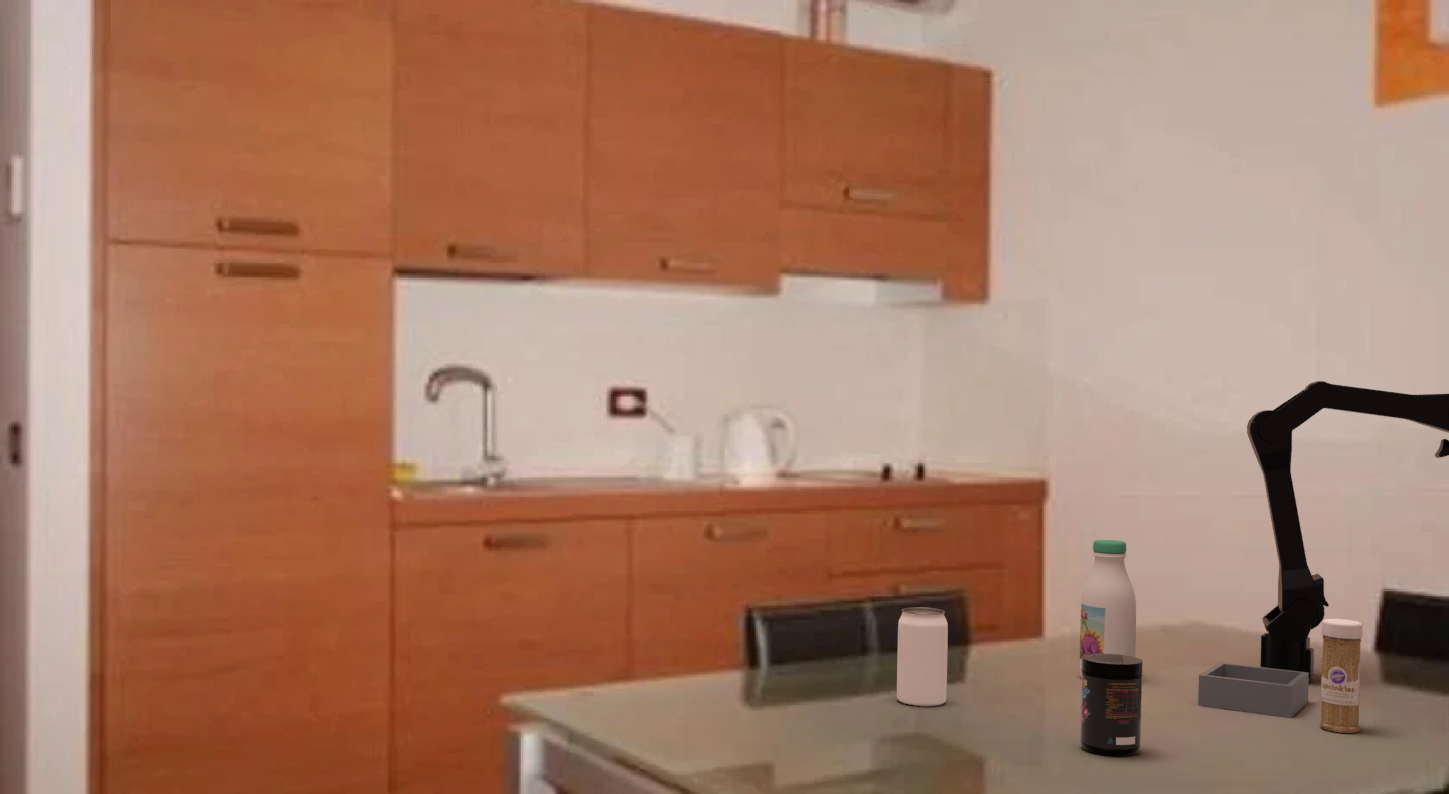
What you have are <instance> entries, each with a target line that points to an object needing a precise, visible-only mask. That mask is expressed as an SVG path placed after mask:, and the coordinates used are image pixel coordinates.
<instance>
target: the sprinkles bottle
mask: <svg viewBox="0 0 1449 794" xmlns="http://www.w3.org/2000/svg"><path fill="white" fill-rule="evenodd" d="M1321 635H1322V636H1321V637H1322V640H1323V642H1322V661H1321V662H1322V664H1321V665H1322V666H1321V682H1320V683H1321V685H1320V700H1321V703H1320V704H1321V707H1320V708H1321V710H1320V713H1321V714H1320V723H1319V727H1321V729H1323V730H1325V731H1329V732H1333V733H1334V732H1335V733H1339V734H1340V733H1341V734H1353V733H1357V732H1359V731H1361V730H1360V723H1359V721H1360V704H1361V703H1360V702H1361V696H1360V695H1361V643H1362V638H1363V624H1362V622H1360V621H1356V620H1353V619H1345V618H1324V619H1323V620H1322V621H1321Z"/></svg>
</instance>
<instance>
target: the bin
mask: <svg viewBox="0 0 1449 794" xmlns="http://www.w3.org/2000/svg"><path fill="white" fill-rule="evenodd" d="M1309 682H1310V680H1309V673H1307V672H1299V671H1290V670H1281V669H1273V668H1264V667H1260V666H1255V665H1254V666H1253V665H1246V664H1236V663H1227V662H1220V661H1219V662H1217V663H1216V664H1215V665H1213V666H1211V667H1209V668H1208V669H1207V670H1205V671H1203V672H1202V673H1199V674H1198V699H1197V700H1198V701H1197V702H1198V703H1197V704H1198V706H1199V707H1208V708H1216V709H1223V710H1230V711H1238V712H1246V713H1251V714H1252V713H1253V714H1261V715H1268V716H1273V717H1274V716H1277V717H1284V718H1290V719H1292V718H1293V717H1294V716H1295V715H1297V713H1298V712H1299V711H1300V710H1302V709H1303V708H1304V707H1305V706H1306V705H1307V704H1308V703H1309Z"/></svg>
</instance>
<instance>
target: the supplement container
mask: <svg viewBox="0 0 1449 794" xmlns="http://www.w3.org/2000/svg"><path fill="white" fill-rule="evenodd" d="M1081 668H1082V669H1081V672H1082V678H1081V684H1080V685H1081V691H1080V693H1081V694H1080V738H1079V741H1080V745H1081V747H1082V749H1084V750H1085V751H1087V752H1089V753H1091V754H1095V755H1100V756H1105V757H1106V756H1108V757H1131V756H1134V755H1136V754H1137V753H1138V752H1139V751H1140V749H1141V744H1142V743H1141V740H1142V737H1141V735H1142V734H1141V733H1142V697H1143V696H1142V693H1143V691H1142V689H1143V688H1142V687H1143V660H1142V659H1141V658H1139V657H1136V656H1135V657H1132V656H1126V655H1118V654H1087V655H1083V656H1082V667H1081Z"/></svg>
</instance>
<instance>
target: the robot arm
mask: <svg viewBox="0 0 1449 794" xmlns="http://www.w3.org/2000/svg"><path fill="white" fill-rule="evenodd" d="M1323 409H1328V410H1335V411H1343V412H1351V413H1357V414H1365V415H1372V416H1381V417H1385V418H1386V417H1387V418H1393V419H1394V418H1395V419H1400V420H1406V421H1410V422H1413V423H1416V424H1418V425H1422V426H1426V427H1429V428H1431V429H1433V430H1439V431H1441V432H1444V433H1449V393H1431V394H1430V393H1428V394H1427V393H1425V394H1409V393H1403V392H1395V391H1386V390H1379V389H1371V388H1363V387H1358V386H1357V387H1356V386H1351V385H1350V386H1349V385H1340V384H1333V383H1330V382H1327V381H1324V380H1323V381H1322V380H1317V381H1313V382H1311V383H1309V384H1308V385H1306V386H1305V387H1304V389H1303V390H1301V391H1300V392H1298V393H1296V394H1294V396H1292V397H1290V398H1288V400H1286V401H1284V402H1283V403H1281V404H1279V406H1277V407H1276V408H1274V409H1272V410H1261V411H1258V412H1257V413H1255V414H1254V415H1252V416H1251V418H1250V419H1249V420H1248V422H1247V425H1246V434H1247V437H1248V439H1249V442H1250V445H1251V448H1252V450H1253V453H1254V455H1255V458H1256V460H1257V463H1258V466H1259V468H1260V470H1261V472H1262V476H1263V480H1264V487H1265V491H1266V492H1265V493H1266V498H1267V503H1268V509H1269V510H1268V511H1269V514H1270V520H1271V526H1272V532H1273V537H1274V544H1275V547H1276V554H1277V560H1278V578H1277V581H1278V582H1277V605H1276V606H1275V607H1273V608H1272V609H1271V610H1270V611H1269V612H1267V613H1266V614H1265V615H1264V616H1262V622H1263V625H1264V628H1265V630H1266V632H1265V633H1263V634H1262V635H1261V636H1260V666H1259V667H1264V668H1273V669H1281V670H1290V671H1299V672H1307V673H1309V681H1310V680H1311V679H1312V678H1313V677H1314V673H1315V671H1314V670H1315V669H1314V668H1315V667H1314V666H1315V664H1314V663H1315V649H1314V648H1313V647H1311V638H1310V637H1309V634H1310V632H1311V630H1313V629H1315V628H1317V627H1318V626H1319V625H1320V624H1322V621H1323V620H1324V619H1325V607H1329V606H1330V605H1329V603H1328V602H1327V600H1326V599H1327V598H1326V597H1325V581H1324V578H1323V576H1322V575H1320V574H1319V573H1315V574H1312V572H1311V570H1310V568H1309V565H1308V563H1307V562H1308V561H1307V556H1306V550H1305V545H1304V540H1303V535H1302V534H1303V533H1302V529H1301V528H1302V527H1301V523H1300V522H1301V521H1300V518H1299V512H1298V506H1297V505H1298V504H1297V500H1296V494H1295V489H1294V482H1293V478H1292V472H1291V468H1292V467H1291V466H1292V452H1293V451H1292V450H1293V445H1292V444H1293V431H1294V430H1296V429H1297V428H1298V427H1300V426H1301V425H1303V424H1304V423H1305V422H1307V421H1308V420H1310V419H1311V418H1312V417H1313V416H1315V415H1316V414H1318V413H1319V412H1320V411H1322V410H1323ZM1448 456H1449V440H1448V439H1447V438H1443V439H1441V440H1440V444H1439V447H1438V448H1437V451H1436V452H1435V453H1434V457H1435V458H1436V459H1439V458H1440V459H1441V458H1444V457H1448ZM1324 606H1325V607H1324Z"/></svg>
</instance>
